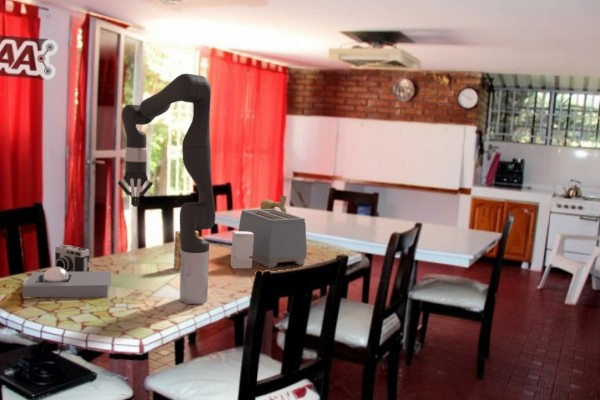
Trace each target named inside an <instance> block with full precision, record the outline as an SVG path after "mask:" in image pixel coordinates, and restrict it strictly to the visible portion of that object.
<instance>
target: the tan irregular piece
mask: <svg viewBox="0 0 600 400" xmlns="http://www.w3.org/2000/svg"><path fill="white" fill-rule="evenodd" d="M287 198H288V197H287V196H285V195H281V196H280V201H273V200H272V199H263V200H262V201H261V202H260V209H275V210H277V209H276V207H277V208H278V209H280V210H279V211H282V212H285V213H287V208H286V206H285V205H286V202H287Z"/></svg>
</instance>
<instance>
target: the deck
mask: <svg viewBox="0 0 600 400" xmlns="http://www.w3.org/2000/svg"><path fill="white" fill-rule="evenodd" d="M45 272H46V271H33V272H32V273H31V274H30V275H29V278H28V279H27V280H26V282H25V283H24V284H23V285H22V299H25V298H24V297H71V298H106V297H108V296H109V290H110V286H111V282H112V280H111V278H112V271H111V270H110V271H108V270H106V271H105V270H104V271H103V270H102V271H96V270H95V271H90V270H89V271H87V272H67V273H68V276H69V280H68V282H49V283H44V281H43V277H44V274H45Z"/></svg>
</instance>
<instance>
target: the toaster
mask: <svg viewBox="0 0 600 400" xmlns="http://www.w3.org/2000/svg"><path fill="white" fill-rule="evenodd" d="M238 225H239V226H238V231H244V232H252V233H253V234H254V242H253V255H252V261H254V262H256V263H258V264H260V265H262V266H263V267H264V266H265V267H266V268H268V269H272V268H275V267H276V266H277V265H278V263H289V262H292V263H293V262H294V263H293V264H296V265H298V266H302V265H305V260H306V259H307V256H308V253H307V252H308V250H307V229H306V228H307V227H306V220H305V217H300V216H297V215H295V214H291V213H288V212H286V213H285V212H282V211H281V210H278V209H276V210H275V209H261V208H260V209H259V208H258V209H257V208H256V209H242V210H241V213H240V219H239V224H238Z"/></svg>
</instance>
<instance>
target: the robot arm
mask: <svg viewBox="0 0 600 400" xmlns="http://www.w3.org/2000/svg"><path fill="white" fill-rule="evenodd" d="M211 95H212V89H211V84H210V81H209V79H208V78H207V77H206V76H203V75H199V74H198V75H197V74H192V73H181V74H179V75H178V76H177V77H175V78H174V79H173V80H171V82H170V83H168V84H167V85H166V86H165V87H163V88H162V89H161V90H160V91H158V92H157V93H155V94H154V95H153V94H152V95H151V96H149V97H147V98H145V99H143V100H142V101H141V103H140V104H127V105H125V106H124V107H123V108H122V112H121V120H122V124H123V127H124V131H125V135H126V144H125V145H126V148H125V159H124V160H125V161H124V162H125V163H124V165H125V166H124V168H125V169H124V170H125V171H124V176H123V178H122V179H121V180H118V182H117V183H118V184H117V185H119V187H120V188H121V189H122V190H123V192H124V193H125V194H126V195H127V196H129V197H130V199H131V203H130V205H131V206H132V207H134V208H138V206H139V205H140V197H141V196H144V195H145V194H146V193H147V192H148V191H149V190H150V188H152V186H153V184H154V182H153V181H151V180H150V179H148V178H149V177H148V175H147V162H148V161H147V160H148V159H147V158H148V156H147V154H148V153H147V134H146V133H145V132H144V131H140V130H139V129H138V128H137V127H138V126H137V125H139V126H140V125H141V126H143V125H148V124H150V123H152V121H153V120H154V119H156V118H157V117H158V116H161V115H163V114H164V113H166V112H167V111H168V110H169V109H170V108H171V104H174V103H178V102H184V103H190V104H192V106H193V107H192V108H193V109H192V111H193V112H192V120H191V123H190V125H189V127H188V129H187V130H186V132H185V135H184V136H183V140H182V143H181V145H182V148H181V149H182V162H183V166H184V169H186V172H187V173H188V174H189V176H190V178H191V179H192V180H193V182H194V184H195V185H196V188H197V192H198V200H199V201H197V202H196V201H193V202H191V201H190V202H185V203H182V205H181V207H180V209H179V210H180V211H179V231H180V242H181V267H180V271H179V278H180V279H179V301H180V302H181V303H184V305H198V304H199V305H200V304H201V305H202V304H203V305H204V303H206V302H207V301H208V289H209V288H208V287H209V262H210V261H209V260H210V259H209V258H210V242H209V241H208V240H205V239H203V238H201V237H199V238H197V237H196V234H195V230H196V231H202V230H211V229H212V228H213V227H214V225H215V223H216V206H215V205H216V204H215V198H214V191H213V190H214V189H213V182H212V181H213V180H212V153H211V152H212V151H211V132H210V126H211V125H210V124H211V123H210V117H211V116H210V115H211V113H210V112H211V98H212V97H211ZM126 184H127V185H128V187H130V190H129V189H128V187H126ZM144 185H145V187H144V188H143V190H142V191H141V187H143V186H144ZM135 188H136V189H135ZM135 190H136V191H135Z"/></svg>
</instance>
